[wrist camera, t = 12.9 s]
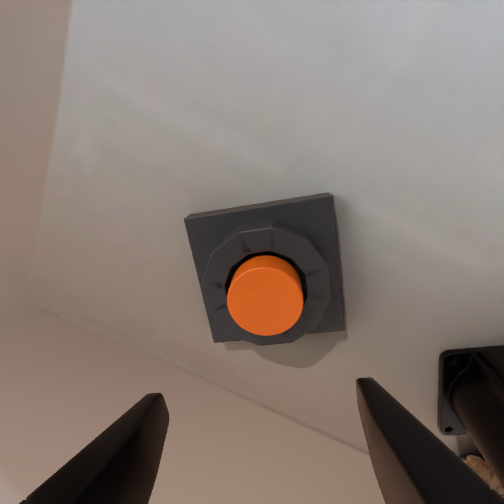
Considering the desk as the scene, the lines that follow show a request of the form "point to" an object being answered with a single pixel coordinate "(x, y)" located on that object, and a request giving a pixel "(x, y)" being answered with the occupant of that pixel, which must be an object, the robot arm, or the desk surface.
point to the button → (265, 296)
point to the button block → (271, 244)
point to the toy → (483, 471)
